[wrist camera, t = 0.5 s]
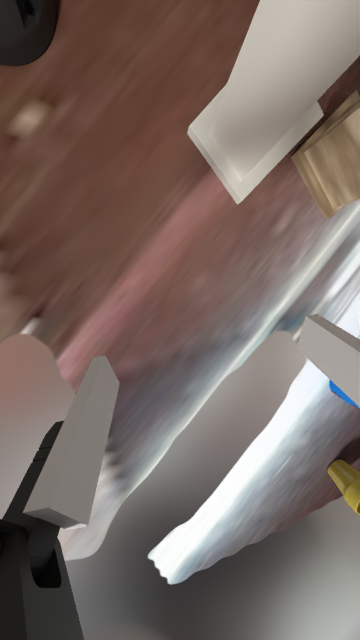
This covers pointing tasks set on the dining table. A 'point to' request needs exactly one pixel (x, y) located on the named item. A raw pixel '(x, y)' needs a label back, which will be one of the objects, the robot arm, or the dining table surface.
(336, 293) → the dining table surface
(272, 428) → the dining table surface
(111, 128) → the dining table surface
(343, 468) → the plant pot
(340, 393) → the blue carton
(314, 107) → the post
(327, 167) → the oak stand
